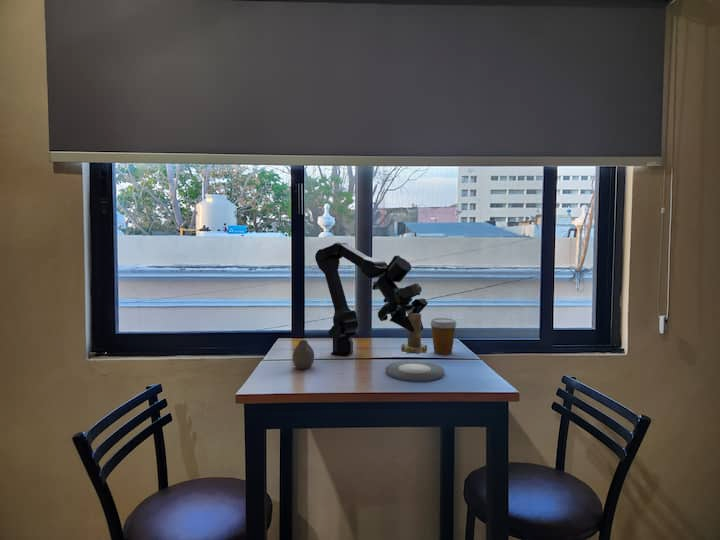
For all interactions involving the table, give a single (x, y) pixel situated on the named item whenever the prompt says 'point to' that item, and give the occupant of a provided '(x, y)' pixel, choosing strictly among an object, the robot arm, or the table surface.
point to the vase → (303, 355)
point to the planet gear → (414, 336)
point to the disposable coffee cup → (443, 335)
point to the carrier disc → (415, 371)
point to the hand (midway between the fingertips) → (417, 330)
